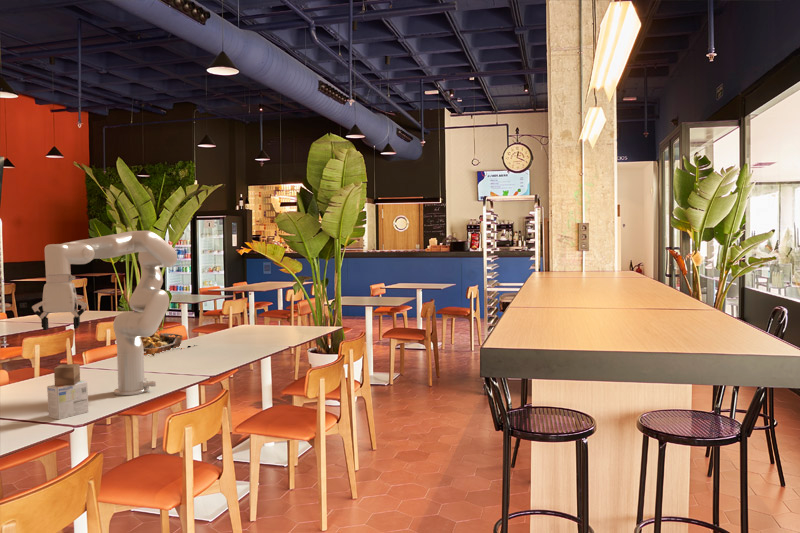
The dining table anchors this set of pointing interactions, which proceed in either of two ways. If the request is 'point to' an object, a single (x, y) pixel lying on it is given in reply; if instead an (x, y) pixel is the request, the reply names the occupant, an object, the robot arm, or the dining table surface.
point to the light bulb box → (67, 400)
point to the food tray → (160, 342)
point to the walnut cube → (67, 374)
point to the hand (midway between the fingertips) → (61, 328)
